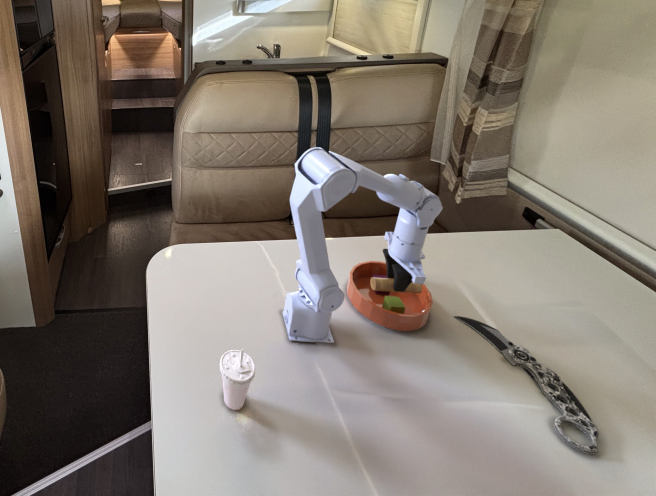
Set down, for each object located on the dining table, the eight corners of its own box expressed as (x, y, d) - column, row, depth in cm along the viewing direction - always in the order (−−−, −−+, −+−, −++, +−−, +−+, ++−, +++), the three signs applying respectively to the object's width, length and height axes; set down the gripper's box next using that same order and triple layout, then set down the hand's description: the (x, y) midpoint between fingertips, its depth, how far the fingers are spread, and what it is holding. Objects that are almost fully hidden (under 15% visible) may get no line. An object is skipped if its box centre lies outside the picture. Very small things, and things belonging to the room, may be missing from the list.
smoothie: (244, 424, 77) (250, 371, 72) (211, 405, 80) (215, 353, 75) (255, 394, 82) (262, 342, 77) (224, 378, 85) (229, 326, 80)
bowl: (362, 330, 95) (366, 313, 94) (336, 274, 111) (340, 259, 109) (442, 335, 94) (448, 318, 92) (405, 278, 110) (410, 263, 108)
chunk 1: (375, 294, 104) (378, 284, 103) (370, 284, 107) (373, 274, 106) (389, 295, 104) (392, 285, 103) (383, 285, 107) (386, 275, 106)
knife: (453, 313, 98) (496, 310, 98) (452, 318, 98) (494, 315, 98) (571, 452, 72) (630, 448, 72) (568, 457, 72) (626, 453, 72)
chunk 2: (388, 317, 98) (390, 306, 97) (382, 306, 101) (384, 295, 100) (402, 318, 98) (405, 307, 96) (396, 306, 101) (399, 296, 99)
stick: (373, 293, 97) (376, 284, 95) (369, 283, 99) (372, 274, 98) (420, 296, 96) (423, 287, 94) (414, 286, 98) (417, 277, 97)
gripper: (447, 261, 84) (430, 312, 90) (412, 217, 98) (399, 263, 103) (410, 258, 85) (395, 309, 90) (380, 215, 98) (369, 261, 104)
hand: (395, 285), depth 97 cm, fingers closed on stick, 3 cm apart
